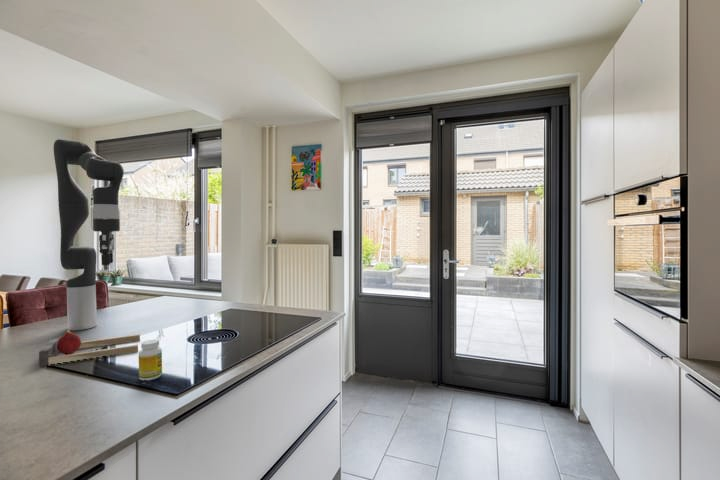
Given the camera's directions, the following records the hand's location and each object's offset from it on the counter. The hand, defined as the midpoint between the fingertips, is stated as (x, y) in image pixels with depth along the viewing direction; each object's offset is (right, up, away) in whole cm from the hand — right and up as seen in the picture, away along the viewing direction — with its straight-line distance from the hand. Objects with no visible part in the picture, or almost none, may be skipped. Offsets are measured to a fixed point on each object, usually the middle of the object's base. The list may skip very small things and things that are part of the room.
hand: (107, 264), depth 118 cm
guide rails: (+2, -28, -8) cm, 29 cm away
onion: (-4, -29, -11) cm, 31 cm away
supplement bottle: (+32, -29, -27) cm, 51 cm away
